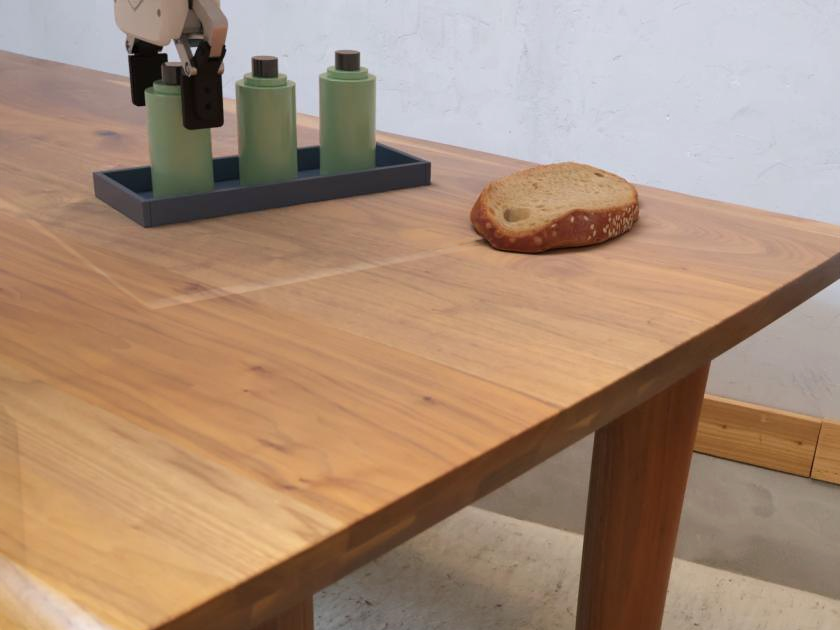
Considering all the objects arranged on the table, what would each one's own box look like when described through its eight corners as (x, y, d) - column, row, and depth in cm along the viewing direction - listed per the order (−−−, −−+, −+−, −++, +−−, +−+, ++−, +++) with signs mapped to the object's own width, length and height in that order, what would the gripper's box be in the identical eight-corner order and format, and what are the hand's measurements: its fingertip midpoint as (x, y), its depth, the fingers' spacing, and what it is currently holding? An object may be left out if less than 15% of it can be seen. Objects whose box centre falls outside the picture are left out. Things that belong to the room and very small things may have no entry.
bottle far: (338, 188, 101) (337, 58, 96) (309, 175, 104) (307, 49, 99) (386, 181, 104) (387, 54, 99) (356, 169, 107) (356, 45, 102)
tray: (145, 235, 89) (142, 202, 88) (95, 203, 96) (92, 172, 95) (430, 191, 104) (431, 162, 103) (369, 166, 111) (369, 138, 110)
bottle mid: (257, 200, 97) (251, 64, 91) (229, 186, 100) (223, 54, 95) (308, 193, 99) (306, 60, 94) (280, 179, 103) (276, 51, 98)
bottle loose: (168, 213, 92) (158, 71, 87) (143, 198, 96) (131, 61, 91) (225, 205, 95) (218, 66, 90) (198, 190, 99) (190, 57, 93)
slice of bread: (601, 184, 108) (605, 144, 106) (700, 241, 93) (707, 196, 91) (420, 195, 102) (421, 152, 101) (495, 257, 87) (498, 209, 86)
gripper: (67, -129, 88) (90, 100, 96) (161, -119, 76) (179, 143, 84) (159, -127, 92) (174, 93, 100) (263, -116, 80) (270, 133, 88)
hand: (176, 115), depth 92 cm, fingers open, 9 cm apart
